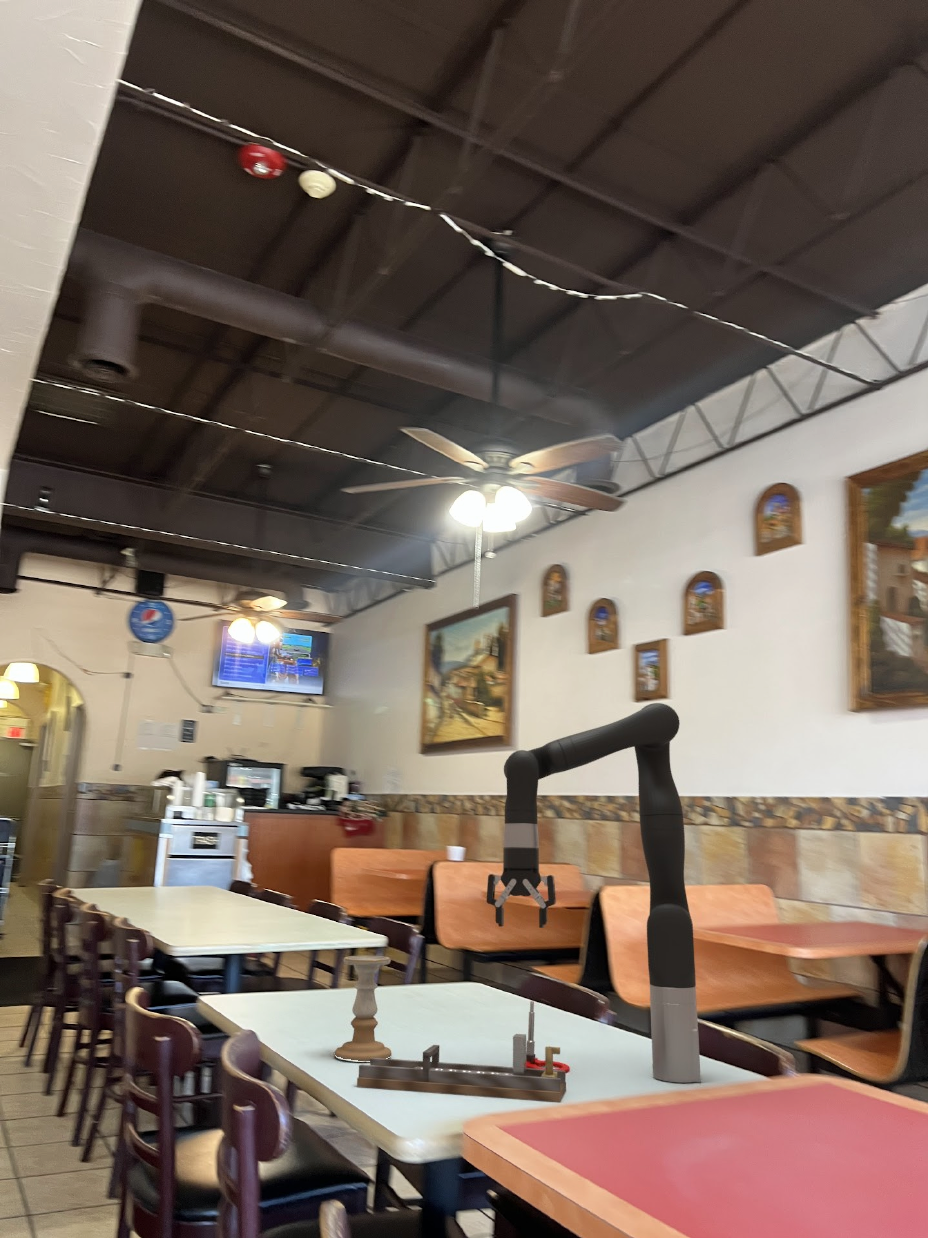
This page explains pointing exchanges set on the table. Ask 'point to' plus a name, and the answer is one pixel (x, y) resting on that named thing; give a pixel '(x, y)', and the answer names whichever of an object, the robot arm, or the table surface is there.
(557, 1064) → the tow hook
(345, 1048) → the candle holder
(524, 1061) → the grey l-shaped slider bar
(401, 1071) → the track
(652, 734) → the robot arm
